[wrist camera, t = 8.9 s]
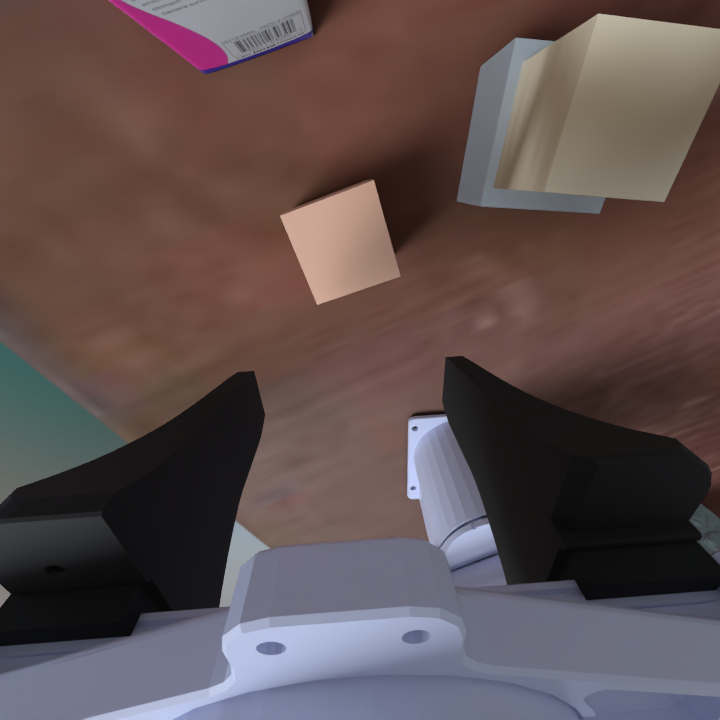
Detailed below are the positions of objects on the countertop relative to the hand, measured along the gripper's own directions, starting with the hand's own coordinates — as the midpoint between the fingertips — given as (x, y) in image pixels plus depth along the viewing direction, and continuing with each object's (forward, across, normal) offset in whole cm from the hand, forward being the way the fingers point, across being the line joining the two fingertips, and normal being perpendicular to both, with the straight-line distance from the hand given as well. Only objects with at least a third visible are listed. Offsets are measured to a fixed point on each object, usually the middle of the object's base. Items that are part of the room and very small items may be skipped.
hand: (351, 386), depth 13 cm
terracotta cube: (+10, 0, -4) cm, 11 cm away
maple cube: (+7, -10, -8) cm, 14 cm away
